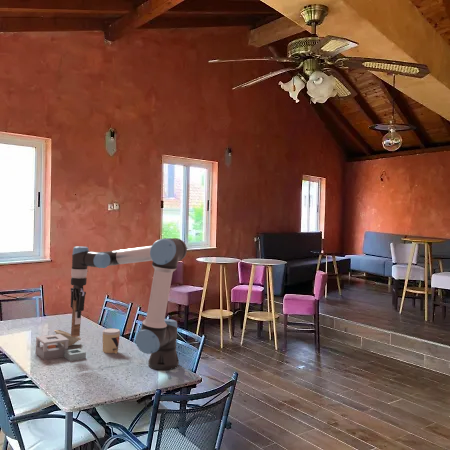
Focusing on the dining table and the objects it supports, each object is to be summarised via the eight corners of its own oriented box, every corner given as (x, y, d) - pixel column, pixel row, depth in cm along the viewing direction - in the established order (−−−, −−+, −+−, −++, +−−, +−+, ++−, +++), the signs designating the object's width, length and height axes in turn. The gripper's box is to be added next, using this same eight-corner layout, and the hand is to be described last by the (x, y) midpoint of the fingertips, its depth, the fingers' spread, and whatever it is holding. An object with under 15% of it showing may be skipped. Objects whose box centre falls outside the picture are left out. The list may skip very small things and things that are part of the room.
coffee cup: (114, 356, 226) (115, 333, 226) (98, 354, 228) (99, 331, 228) (122, 351, 236) (123, 329, 236) (106, 349, 237) (107, 327, 237)
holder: (85, 360, 218) (85, 352, 218) (69, 362, 212) (70, 354, 212) (79, 355, 224) (79, 348, 224) (63, 358, 218) (64, 350, 218)
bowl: (85, 347, 238) (86, 329, 238) (61, 352, 228) (62, 333, 228) (72, 341, 249) (73, 324, 249) (48, 345, 238) (49, 327, 238)
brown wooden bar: (79, 336, 218) (81, 300, 218) (73, 337, 216) (75, 301, 216) (77, 334, 220) (79, 299, 220) (70, 335, 218) (73, 300, 218)
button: (56, 355, 220) (56, 346, 220) (49, 356, 218) (49, 347, 218) (53, 353, 223) (54, 344, 223) (46, 355, 220) (47, 345, 220)
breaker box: (67, 357, 220) (68, 339, 220) (43, 361, 212) (44, 342, 212) (58, 351, 229) (59, 333, 229) (35, 355, 221) (36, 336, 221)
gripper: (92, 279, 214) (90, 326, 214) (79, 274, 226) (76, 319, 226) (78, 279, 209) (75, 327, 209) (65, 275, 221) (62, 320, 222)
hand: (76, 323), depth 218 cm, fingers closed on brown wooden bar, 3 cm apart
